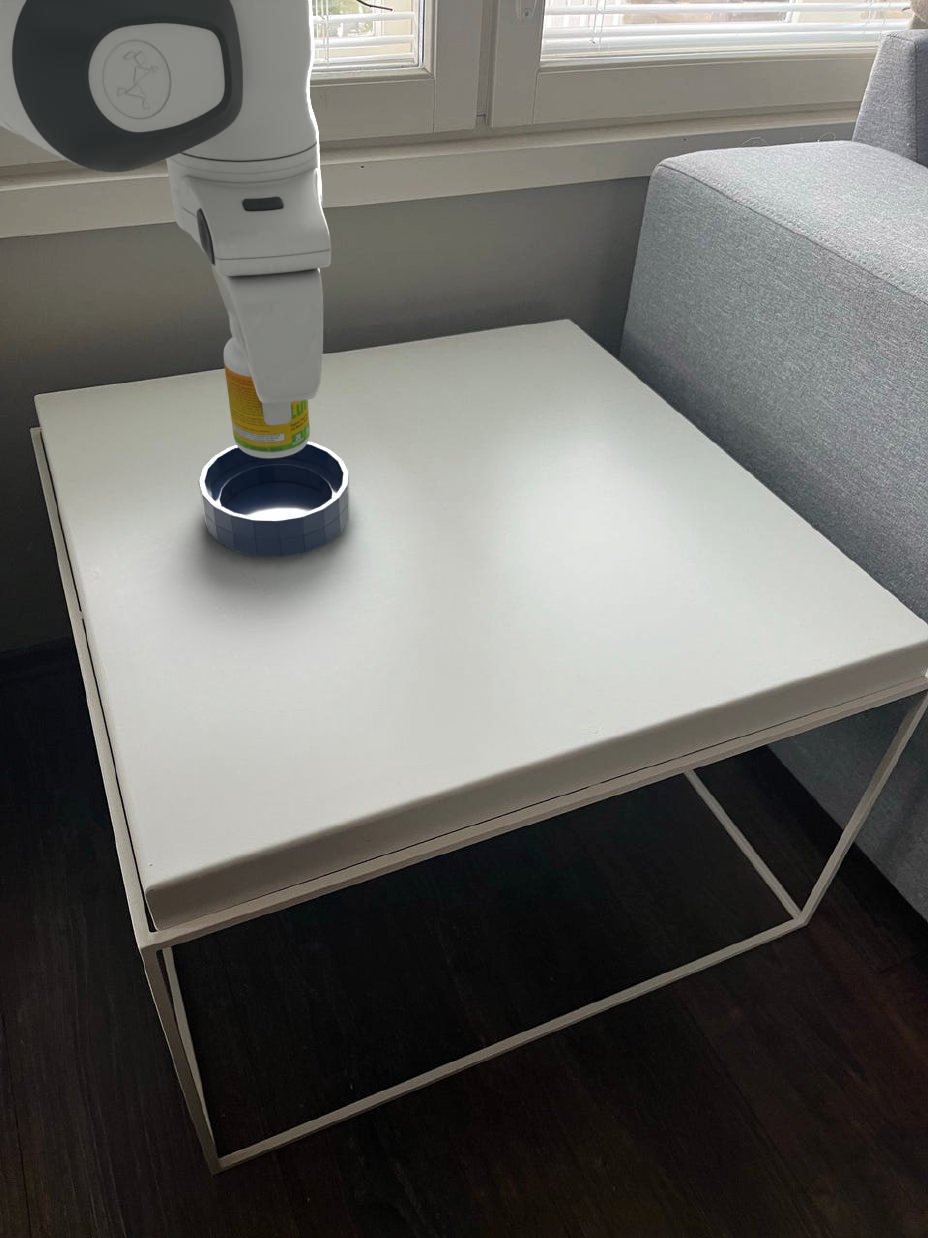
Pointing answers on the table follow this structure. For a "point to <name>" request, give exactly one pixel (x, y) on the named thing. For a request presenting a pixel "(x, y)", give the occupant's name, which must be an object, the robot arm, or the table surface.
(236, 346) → the supplement bottle
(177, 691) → the table surface
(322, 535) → the blue bowl
